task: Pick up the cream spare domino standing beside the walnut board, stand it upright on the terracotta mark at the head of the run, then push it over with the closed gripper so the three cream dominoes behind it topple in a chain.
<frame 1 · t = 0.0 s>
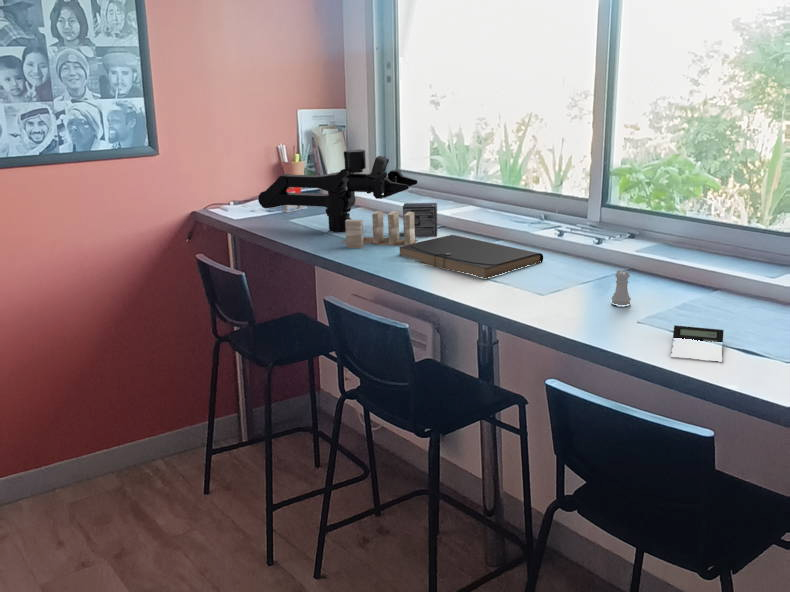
hand: (413, 184, 253), 17 cm above the table, tool horizontal, fingers open, 9 cm apart
domino 4: (409, 242, 246), point 1 cm above the table, touching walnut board
small box: (420, 237, 257), on the table
old book: (469, 262, 229), on the table
domino 3: (394, 241, 248), point 1 cm above the table, touching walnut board
rook chess piece: (620, 305, 188), on the table
ink cartridge box: (294, 210, 304), on the table
spare domino: (355, 249, 243), on the table
domino 2: (378, 241, 249), point 1 cm above the table, touching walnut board
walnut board: (380, 243, 250), on the table
calculator: (696, 351, 160), on the table
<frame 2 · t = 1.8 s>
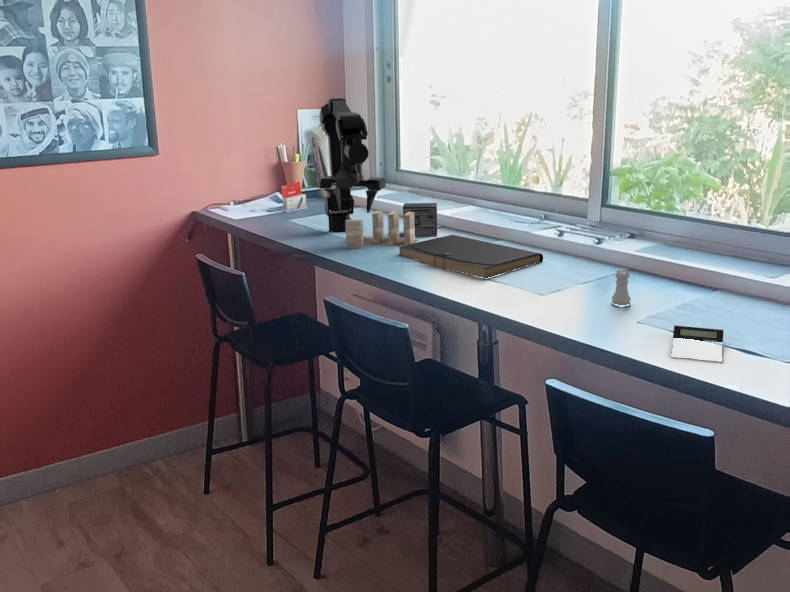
hand: (353, 211, 240), 11 cm above the table, tool pointing down, fingers open, 9 cm apart
nothing on the table moved.
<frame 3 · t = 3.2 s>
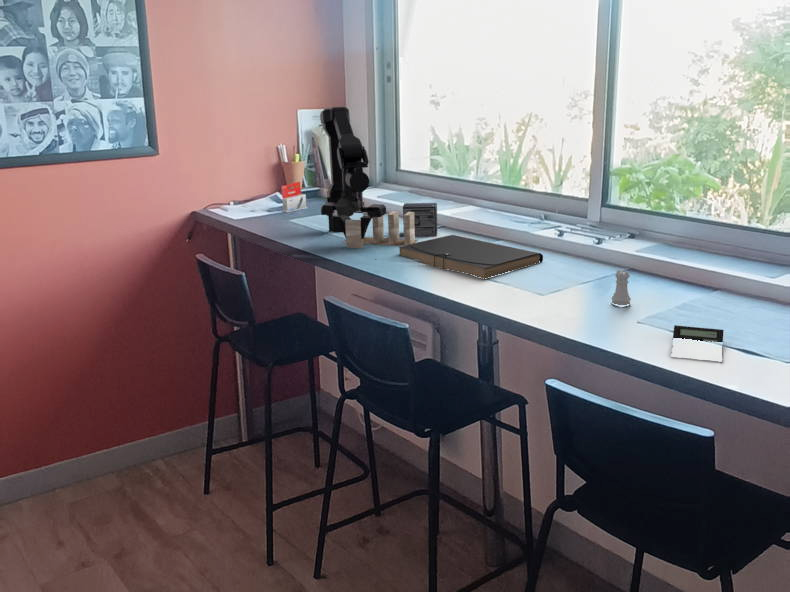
hand: (354, 238, 242), 4 cm above the table, tool pointing down, fingers closed on spare domino, 5 cm apart
spare domino: (355, 249, 243), on the table, touching gripper
everything else where it was.
when the fingers open (5 cm above the table, at t = 7.4 s): spare domino stays where it is, resting on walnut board.
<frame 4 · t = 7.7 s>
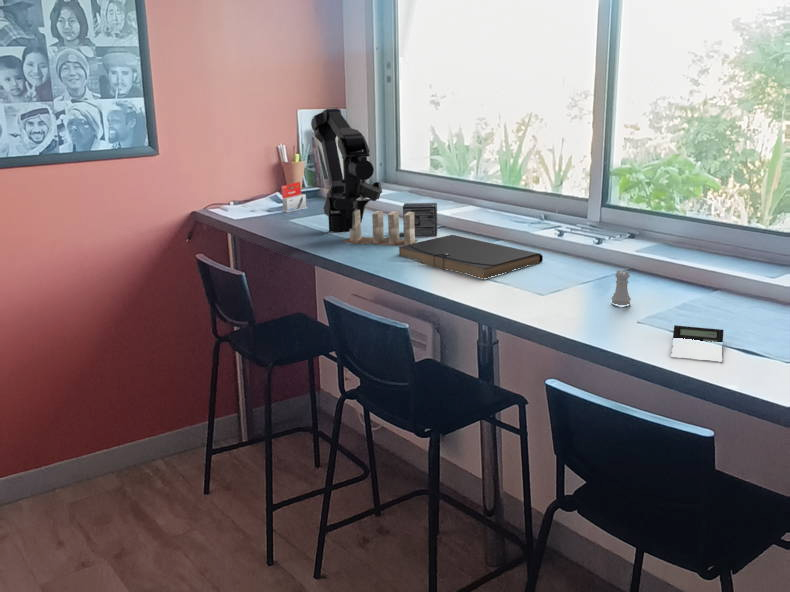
hand: (355, 225, 250), 5 cm above the table, tool pointing down, fingers open, 8 cm apart
spare domino: (355, 239, 252), point 1 cm above the table, touching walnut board
everything else where it was.
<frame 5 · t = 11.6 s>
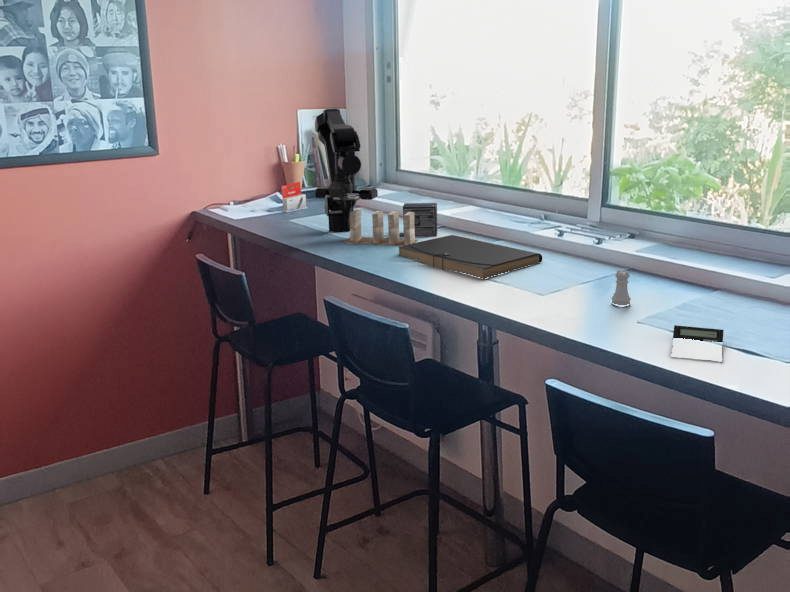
hand: (347, 220, 251), 7 cm above the table, tool pointing down, fingers closed
spare domino: (355, 239, 252), point 1 cm above the table, touching gripper, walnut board
everything else where it was.
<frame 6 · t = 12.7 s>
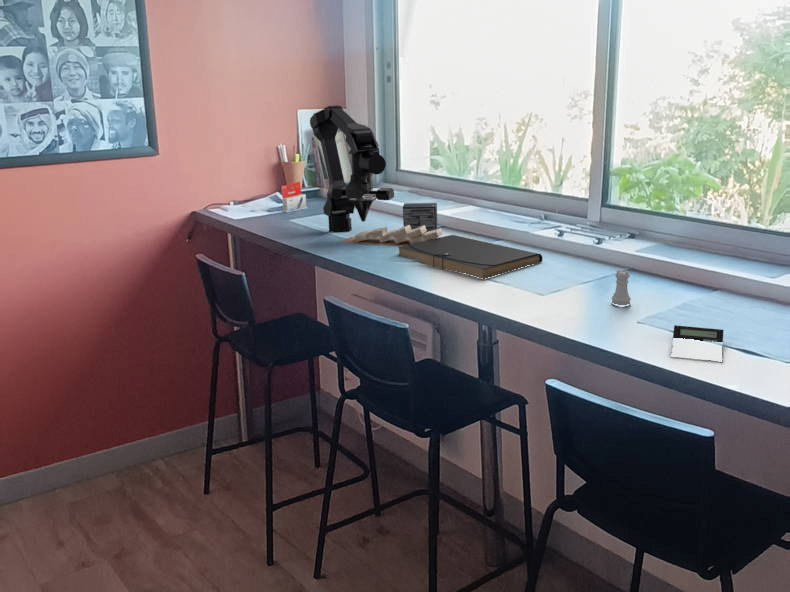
hand: (363, 221, 249), 7 cm above the table, tool pointing down, fingers closed
domino 4: (412, 240, 246), point 2 cm above the table, tilted 73°, touching domino 3, old book, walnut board
old book: (468, 262, 229), on the table, touching domino 4
domino 3: (397, 239, 247), point 2 cm above the table, tilted 67°, touching domino 2, domino 4
spare domino: (358, 237, 251), point 2 cm above the table, tilted 76°, touching domino 2, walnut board
domino 2: (382, 238, 249), point 2 cm above the table, tilted 68°, touching domino 3, spare domino, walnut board
everything else where it was.
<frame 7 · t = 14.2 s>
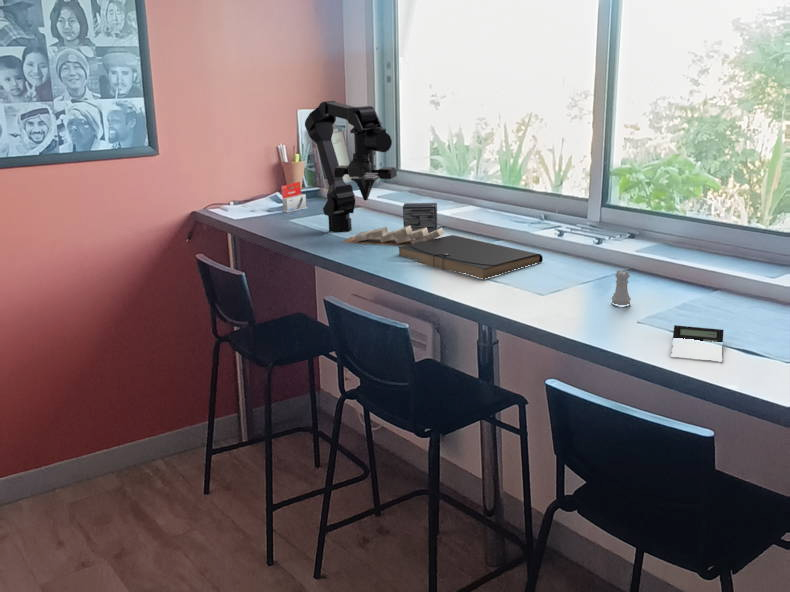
hand: (365, 200, 250), 13 cm above the table, tool pointing down, fingers closed
domino 4: (414, 242, 246), point 1 cm above the table, tilted 65°, touching old book
domino 3: (398, 239, 247), point 2 cm above the table, tilted 72°, touching domino 2, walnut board
everything else where it was.
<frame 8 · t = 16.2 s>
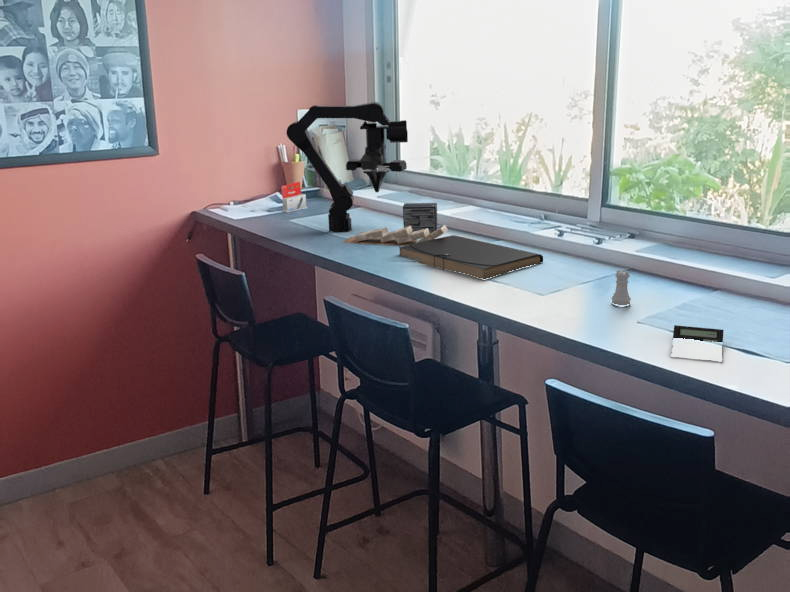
hand: (377, 192, 261), 13 cm above the table, tool pointing down, fingers closed
domino 4: (420, 243, 245), point 1 cm above the table, tilted 58°, touching domino 3, old book
domino 3: (399, 239, 247), point 2 cm above the table, tilted 73°, touching domino 2, domino 4, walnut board
everything else where it was.
at the end: spare domino inside the target area (0.1 cm from its centre), point 1.7 cm above the table; domino 2 tilted 70°; domino 4 tilted 58° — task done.
